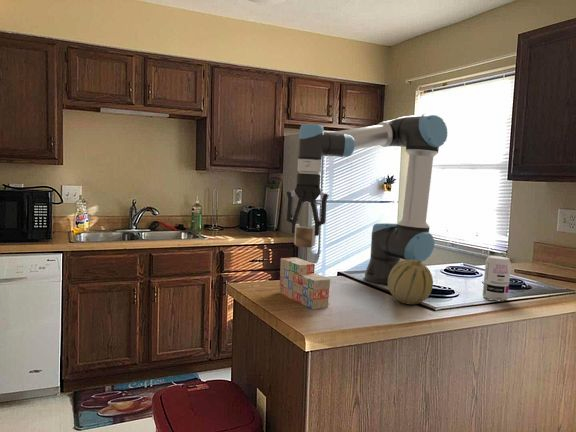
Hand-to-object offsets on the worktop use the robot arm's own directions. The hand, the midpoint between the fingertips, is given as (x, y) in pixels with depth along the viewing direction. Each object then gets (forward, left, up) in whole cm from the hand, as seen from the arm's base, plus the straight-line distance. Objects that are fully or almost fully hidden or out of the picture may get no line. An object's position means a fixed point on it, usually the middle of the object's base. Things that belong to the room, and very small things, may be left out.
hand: (304, 244), depth 156 cm
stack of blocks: (0, 0, -19) cm, 19 cm away
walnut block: (0, 0, 0) cm, 0 cm away
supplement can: (-64, -31, -19) cm, 74 cm away
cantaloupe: (-34, -11, -19) cm, 40 cm away
